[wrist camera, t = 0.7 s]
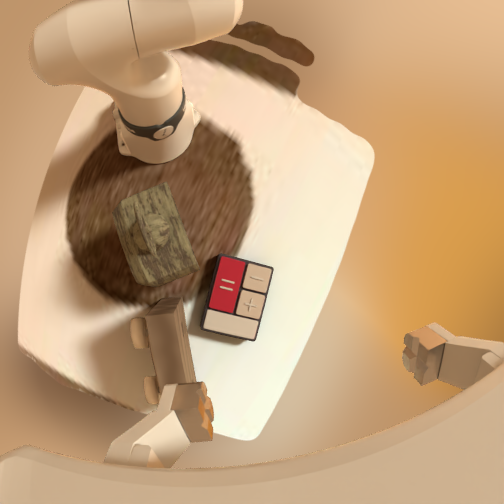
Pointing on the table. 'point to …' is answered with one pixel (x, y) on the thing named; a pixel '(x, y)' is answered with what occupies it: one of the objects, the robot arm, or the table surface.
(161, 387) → the button panel
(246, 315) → the calculator
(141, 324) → the button
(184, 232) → the tabletop clock
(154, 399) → the button
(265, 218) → the table surface
